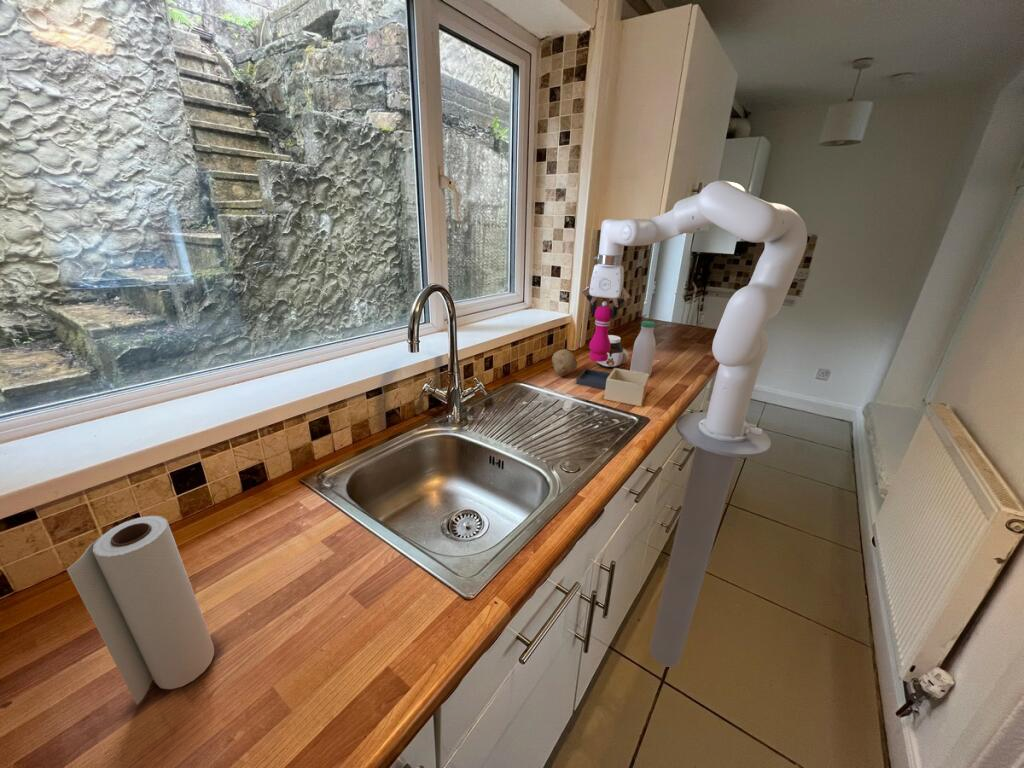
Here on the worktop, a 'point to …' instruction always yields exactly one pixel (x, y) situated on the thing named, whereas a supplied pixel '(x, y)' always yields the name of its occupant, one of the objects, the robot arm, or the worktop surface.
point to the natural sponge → (564, 362)
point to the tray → (593, 378)
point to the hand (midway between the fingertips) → (603, 316)
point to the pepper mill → (601, 334)
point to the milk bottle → (644, 349)
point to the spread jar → (614, 354)
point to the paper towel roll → (144, 605)
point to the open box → (626, 386)
